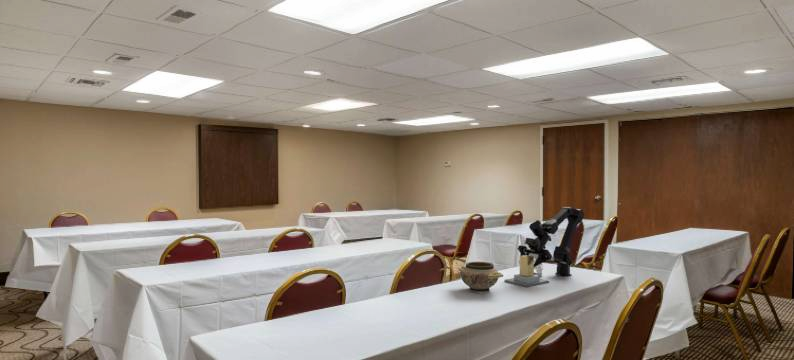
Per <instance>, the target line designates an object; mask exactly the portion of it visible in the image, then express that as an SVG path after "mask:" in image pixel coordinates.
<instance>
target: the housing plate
mask: <svg viewBox="0 0 794 360" xmlns="http://www.w3.org/2000/svg"><path fill="white" fill-rule="evenodd" d="M504 283H508V284H513V285H515V286H520V287H524V288H529V287H534V286H538V285H543V284H548V283H550V280H548V279H543V278H540V275H538V274H534V276H533V277H523V276H520V273H518V274H517V273H516V274H514V275H513V277H512V278H507V279H504Z"/></svg>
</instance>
